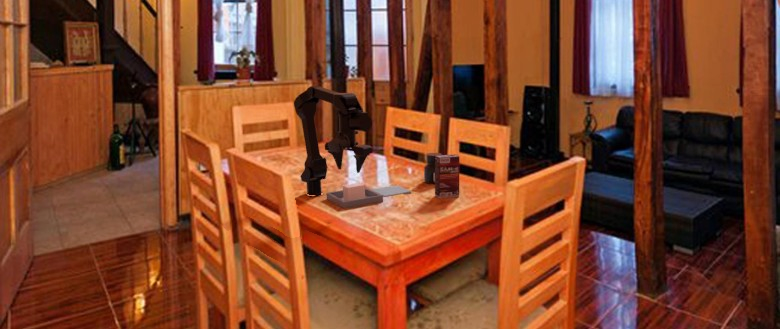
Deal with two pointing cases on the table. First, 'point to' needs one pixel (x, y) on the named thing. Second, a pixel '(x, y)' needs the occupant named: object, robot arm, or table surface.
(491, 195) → the table surface
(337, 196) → the grey square tray
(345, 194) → the block
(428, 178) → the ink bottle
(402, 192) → the mat
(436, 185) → the supplement box
